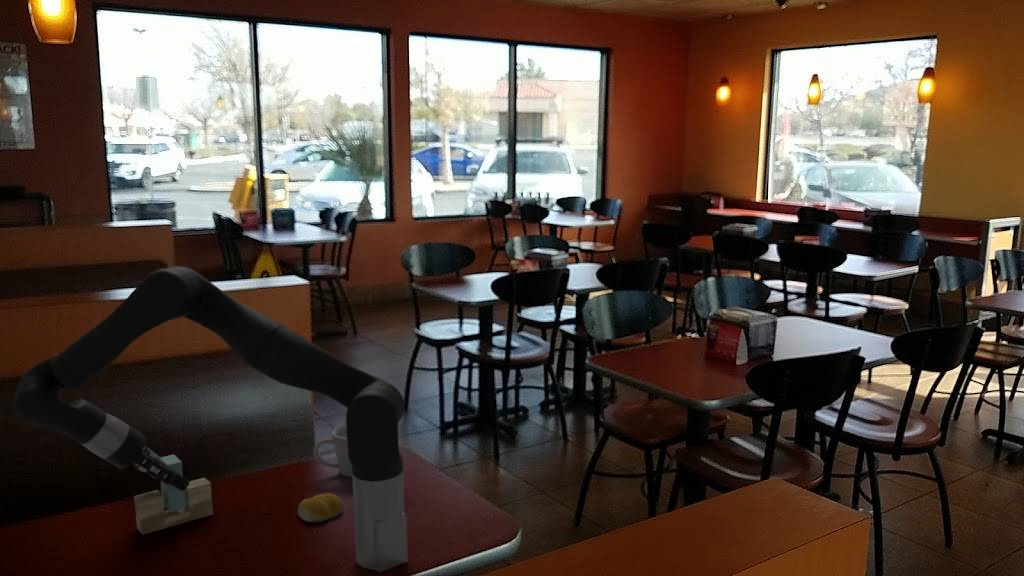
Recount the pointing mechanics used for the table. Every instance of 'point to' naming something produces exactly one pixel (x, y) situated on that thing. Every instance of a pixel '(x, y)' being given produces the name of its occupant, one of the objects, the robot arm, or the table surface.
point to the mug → (337, 451)
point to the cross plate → (171, 494)
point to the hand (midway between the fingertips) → (181, 481)
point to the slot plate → (156, 518)
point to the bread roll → (320, 508)
